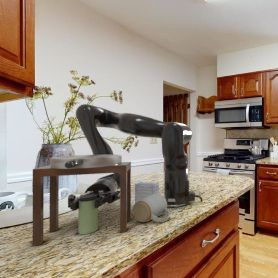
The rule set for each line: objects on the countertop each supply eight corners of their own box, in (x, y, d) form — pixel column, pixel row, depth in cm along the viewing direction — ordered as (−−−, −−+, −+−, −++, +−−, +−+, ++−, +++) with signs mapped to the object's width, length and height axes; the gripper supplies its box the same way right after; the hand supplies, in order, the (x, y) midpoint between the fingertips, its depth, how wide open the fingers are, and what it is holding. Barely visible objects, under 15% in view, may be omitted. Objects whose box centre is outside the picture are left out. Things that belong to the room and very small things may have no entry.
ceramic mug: (130, 222, 65) (130, 198, 65) (149, 213, 73) (149, 191, 73) (159, 226, 62) (159, 201, 62) (175, 216, 70) (175, 194, 70)
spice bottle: (99, 226, 62) (99, 193, 62) (95, 232, 58) (95, 197, 58) (81, 229, 60) (81, 195, 60) (75, 235, 56) (75, 199, 56)
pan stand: (131, 216, 71) (132, 153, 71) (120, 248, 50) (120, 159, 50) (56, 225, 63) (56, 155, 63) (4, 269, 42) (5, 163, 42)
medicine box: (159, 202, 86) (159, 181, 86) (153, 205, 81) (153, 184, 81) (141, 201, 87) (141, 181, 87) (134, 205, 82) (134, 183, 82)
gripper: (76, 182, 70) (51, 195, 54) (125, 179, 75) (115, 189, 60) (76, 204, 69) (51, 223, 54) (125, 199, 75) (115, 215, 60)
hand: (85, 205), depth 57 cm, fingers closed on spice bottle, 4 cm apart
